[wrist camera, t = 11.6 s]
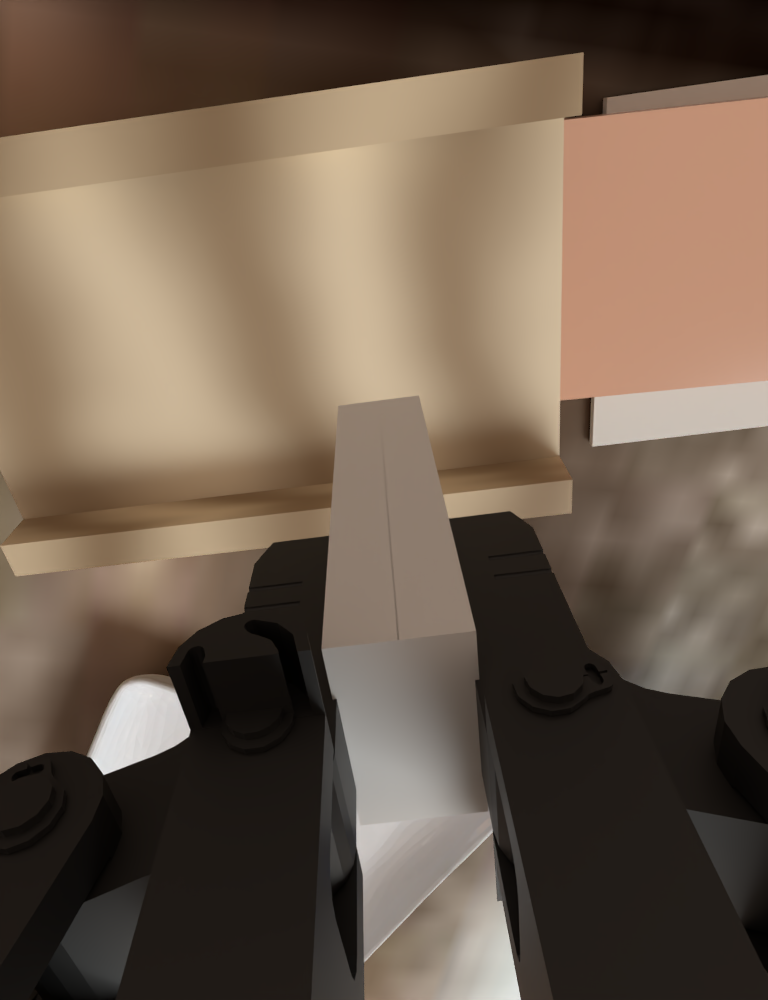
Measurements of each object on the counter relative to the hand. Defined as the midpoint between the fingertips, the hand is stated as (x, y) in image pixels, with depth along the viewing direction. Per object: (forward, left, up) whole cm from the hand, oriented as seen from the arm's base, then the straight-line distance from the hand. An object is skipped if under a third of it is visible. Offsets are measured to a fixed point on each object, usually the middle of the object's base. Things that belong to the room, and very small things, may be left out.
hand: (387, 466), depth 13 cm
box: (-4, 0, -13) cm, 13 cm away
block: (+13, +1, -12) cm, 18 cm away
